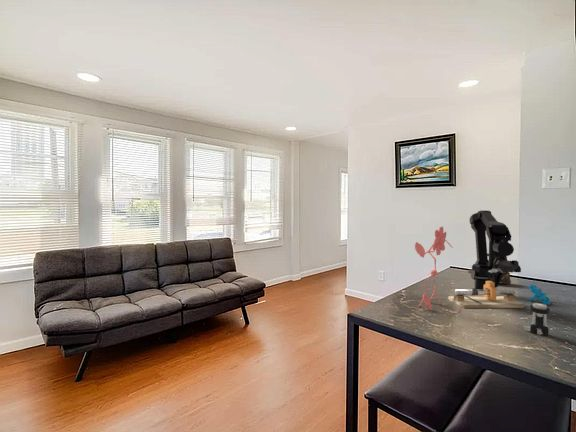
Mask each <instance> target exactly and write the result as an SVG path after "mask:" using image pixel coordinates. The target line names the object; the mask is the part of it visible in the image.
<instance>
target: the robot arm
mask: <svg viewBox="0 0 576 432" xmlns="http://www.w3.org/2000/svg"><path fill="white" fill-rule="evenodd" d="M469 224H470V228H471V230H473V232H474V235H475V250H476V261H475V263H473V264H472V266H471V270H472V272H471V273H470V276H471V277H470V278H471V279H472V280H474V289H484V285H485V284H486V281H492V282H494V283H495V287H496V288H498V286H499V284H500V283H501V282H500V280H501V279H502V277H503V276H504V275H506V274H508V273H507V272H509V273H521V272H522V267H521V266H520V264H519V261H518V260H516V259H514V260H508V257H509V256H511V255H512V254H513V253H514V250H515V248H514V246H513V244H512V243H510V242H511V241H512V234H511V231H510V229H509V227H507V226H508V225H506V224H505V223H503V222H500V221H498V220H497V218H495V217H494V215H493V214H492V212H491V211H490V210H478V211H477V212H475V213H473V214H471V215H470V216H469ZM487 239H488V243H487ZM509 241H510V242H509ZM487 244H488V246H487Z"/></svg>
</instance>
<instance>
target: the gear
mask: <svg viewBox="0 0 576 432" xmlns="http://www.w3.org/2000/svg"><path fill="white" fill-rule="evenodd" d="M528 288H529V290H530V292H531V293H532V297H530V298H529V299H528V300H529V302H533V301H534V300H538V301H539V302H541V301H542V303H541V304H545V305H547V306H550V305H551V304H552V302H551V301H550V297H549V296H547V292H546V291H544V292H543V290H542V288H538V286H536V285H534V284H529V286H528Z"/></svg>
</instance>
